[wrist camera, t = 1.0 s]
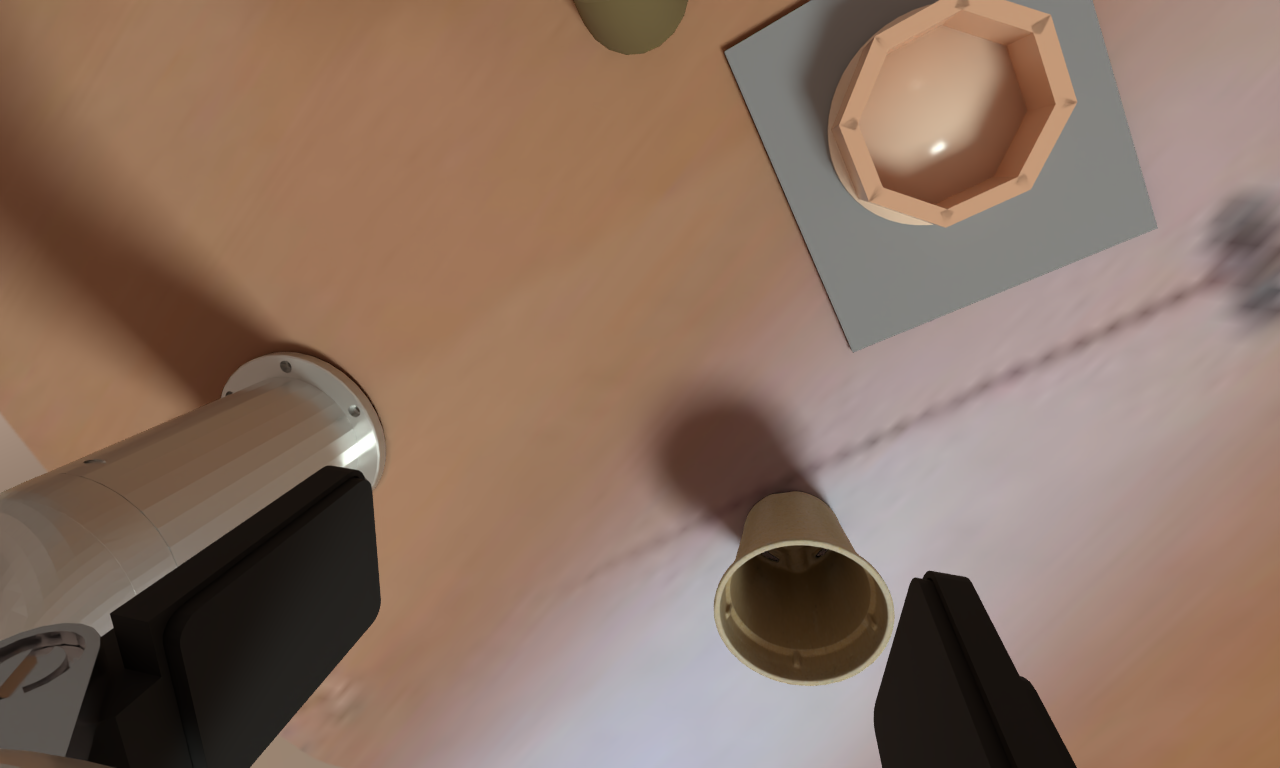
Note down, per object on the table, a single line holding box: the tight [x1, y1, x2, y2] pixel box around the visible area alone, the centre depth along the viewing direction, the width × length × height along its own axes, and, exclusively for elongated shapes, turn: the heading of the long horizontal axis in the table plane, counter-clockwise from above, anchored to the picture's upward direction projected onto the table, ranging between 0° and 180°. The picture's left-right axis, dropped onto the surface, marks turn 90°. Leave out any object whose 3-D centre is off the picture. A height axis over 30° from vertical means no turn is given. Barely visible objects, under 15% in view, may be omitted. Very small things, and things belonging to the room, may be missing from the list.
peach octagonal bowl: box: [827, 0, 1077, 228], centre depth 30 cm, size 10×10×4 cm
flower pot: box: [714, 491, 895, 686], centre depth 37 cm, size 9×9×9 cm
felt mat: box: [724, 0, 1158, 352], centre depth 32 cm, size 16×18×1 cm
